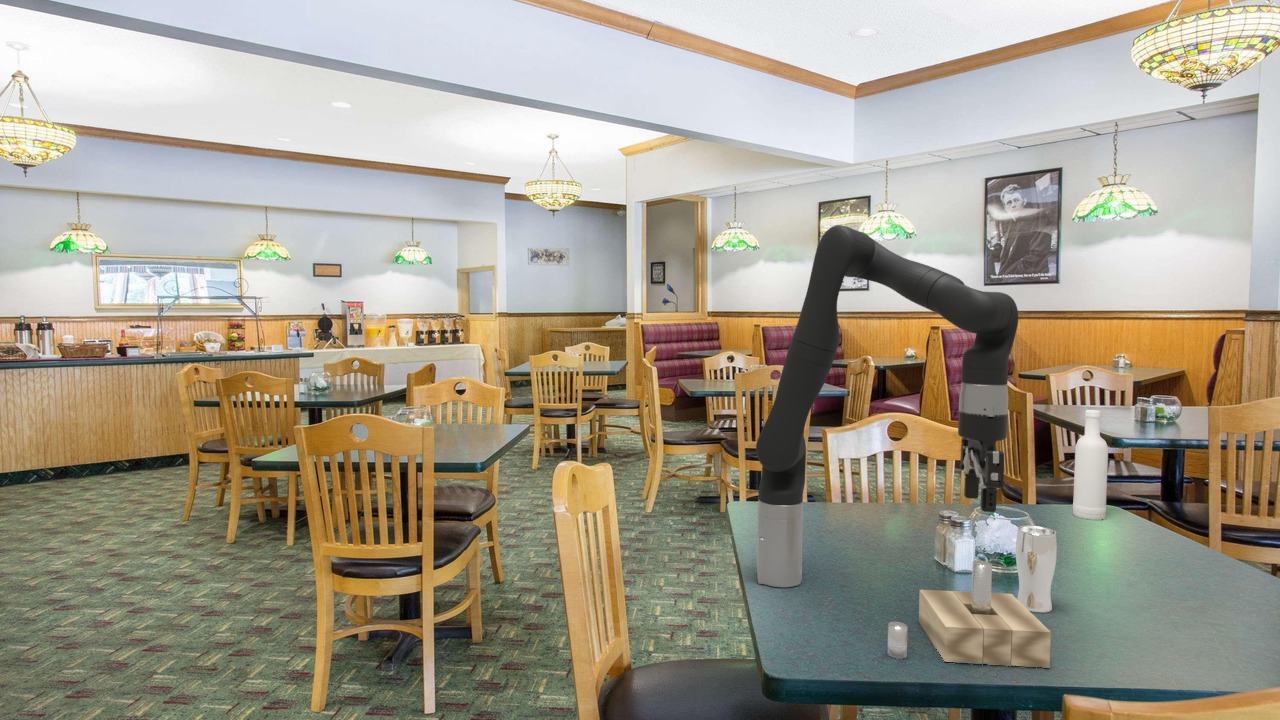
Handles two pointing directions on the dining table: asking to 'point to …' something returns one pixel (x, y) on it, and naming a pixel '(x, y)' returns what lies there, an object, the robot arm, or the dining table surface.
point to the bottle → (1090, 471)
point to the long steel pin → (981, 588)
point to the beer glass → (1035, 566)
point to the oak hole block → (984, 630)
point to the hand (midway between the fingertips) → (979, 504)
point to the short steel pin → (897, 640)
